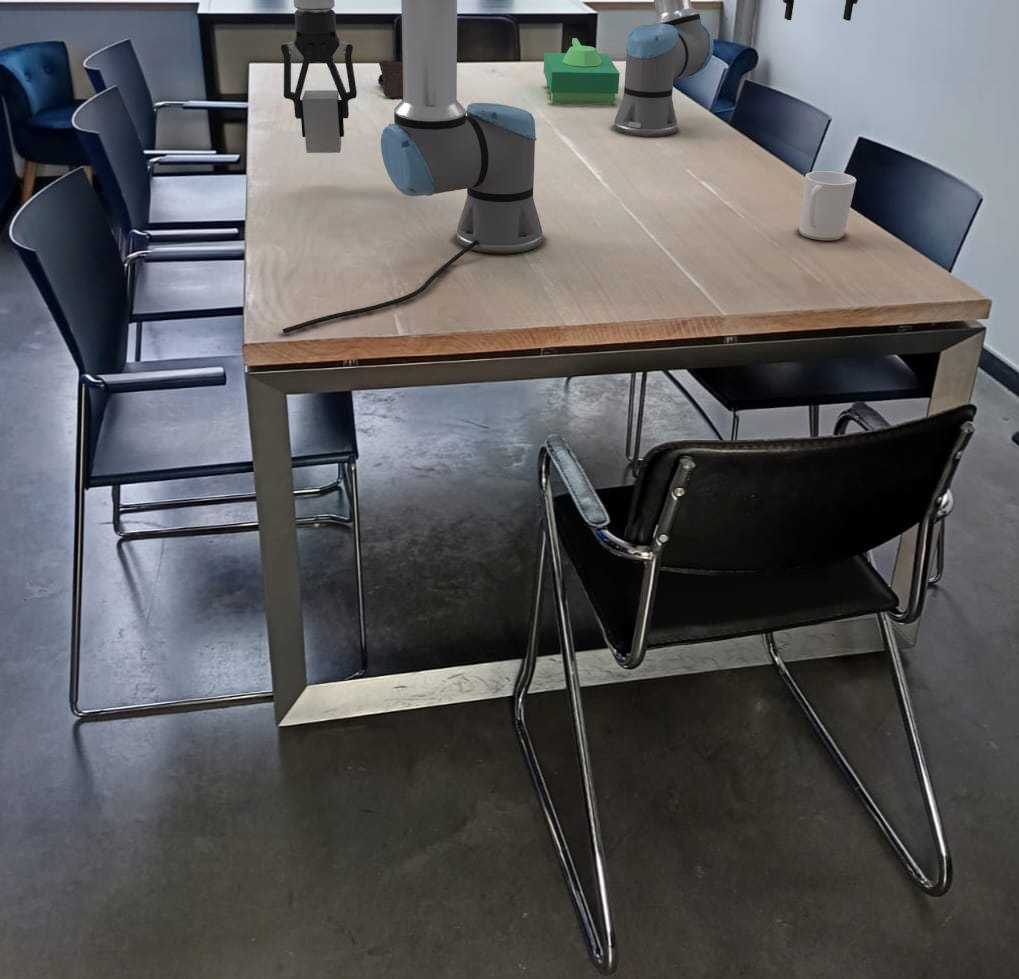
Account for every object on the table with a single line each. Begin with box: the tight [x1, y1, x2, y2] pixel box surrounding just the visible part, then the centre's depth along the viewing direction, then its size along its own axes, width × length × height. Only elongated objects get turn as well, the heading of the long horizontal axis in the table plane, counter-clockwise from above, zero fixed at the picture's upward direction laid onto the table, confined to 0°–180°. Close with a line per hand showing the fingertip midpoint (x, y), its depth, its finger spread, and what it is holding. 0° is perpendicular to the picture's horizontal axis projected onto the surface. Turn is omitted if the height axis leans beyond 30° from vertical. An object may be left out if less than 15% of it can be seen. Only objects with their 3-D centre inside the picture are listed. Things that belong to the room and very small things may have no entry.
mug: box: [798, 170, 857, 241], centre depth 199 cm, size 11×9×10 cm
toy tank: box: [543, 37, 620, 105], centre depth 300 cm, size 18×12×35 cm
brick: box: [301, 89, 343, 154], centre depth 215 cm, size 8×7×10 cm
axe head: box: [377, 59, 403, 99], centre depth 299 cm, size 18×8×15 cm
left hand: (323, 135), depth 216 cm, fingers closed on brick, 7 cm apart
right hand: (817, 19), depth 244 cm, fingers open, 13 cm apart
